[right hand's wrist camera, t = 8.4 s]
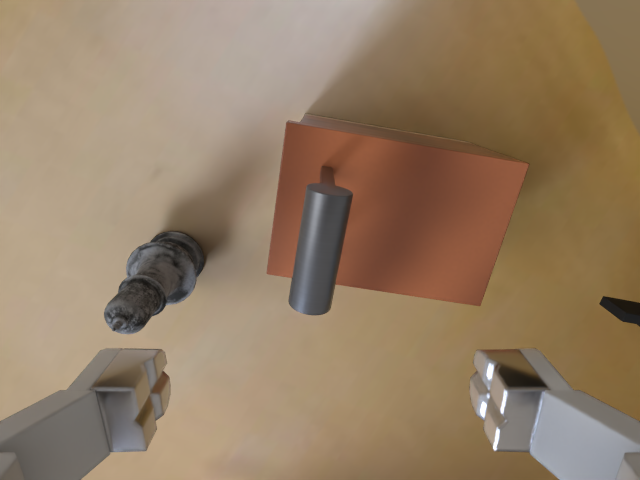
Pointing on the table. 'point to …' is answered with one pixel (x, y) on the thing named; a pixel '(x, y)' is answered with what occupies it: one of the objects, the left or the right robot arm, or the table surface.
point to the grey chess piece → (155, 281)
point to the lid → (387, 216)
